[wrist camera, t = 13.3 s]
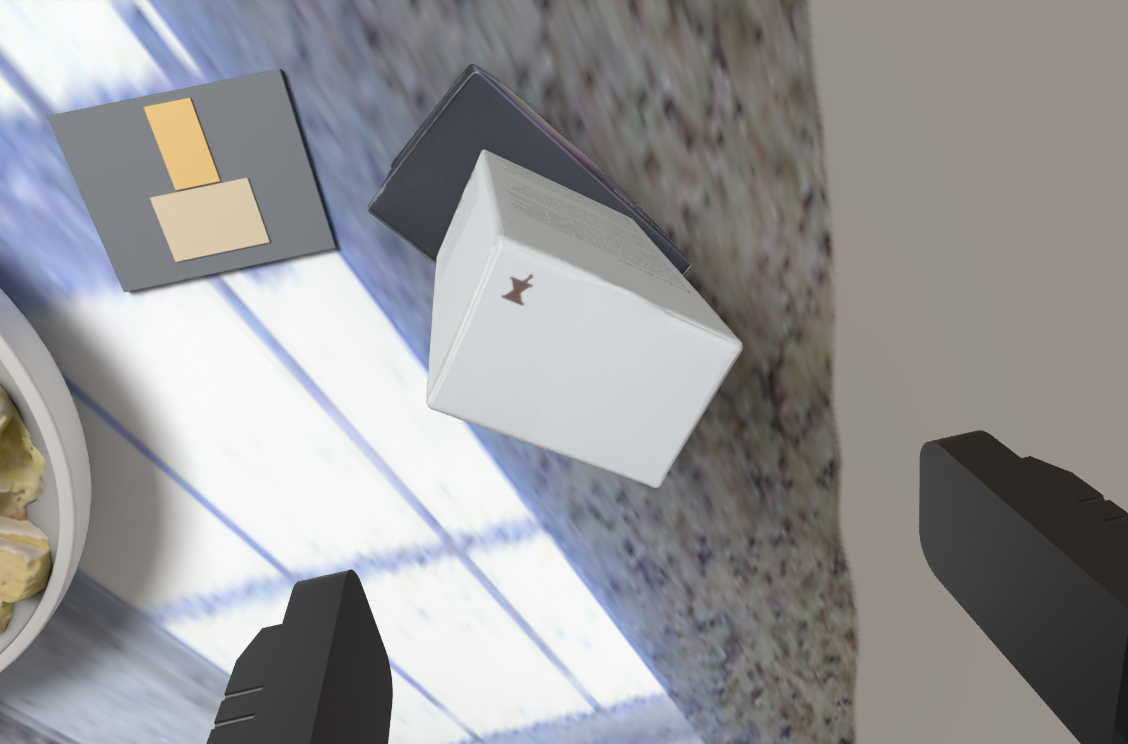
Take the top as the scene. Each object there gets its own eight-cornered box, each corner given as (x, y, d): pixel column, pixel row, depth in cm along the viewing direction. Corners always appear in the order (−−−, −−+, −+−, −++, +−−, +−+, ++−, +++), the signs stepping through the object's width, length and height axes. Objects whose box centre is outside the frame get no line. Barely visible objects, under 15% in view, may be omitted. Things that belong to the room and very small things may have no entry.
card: (50, 115, 34) (45, 116, 33) (281, 68, 34) (279, 69, 34) (126, 290, 37) (123, 292, 37) (336, 246, 37) (335, 248, 37)
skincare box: (433, 259, 28) (414, 408, 17) (481, 145, 26) (495, 226, 15) (586, 323, 29) (661, 497, 18) (640, 219, 28) (753, 340, 17)
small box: (644, 206, 38) (705, 264, 29) (557, 305, 40) (587, 391, 30) (474, 53, 35) (479, 60, 25) (386, 167, 36) (358, 216, 27)
